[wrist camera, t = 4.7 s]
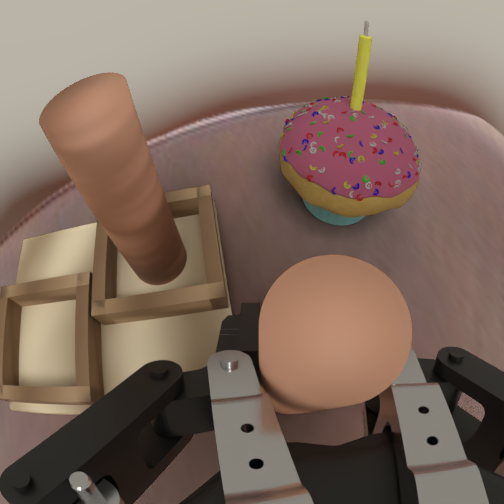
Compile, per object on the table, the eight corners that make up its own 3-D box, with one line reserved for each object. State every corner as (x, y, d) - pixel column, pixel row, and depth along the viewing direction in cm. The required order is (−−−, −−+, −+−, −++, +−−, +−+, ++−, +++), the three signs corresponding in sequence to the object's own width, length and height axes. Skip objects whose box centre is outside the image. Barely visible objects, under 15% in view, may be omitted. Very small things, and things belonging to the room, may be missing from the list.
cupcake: (273, 154, 24) (277, 2, 13) (379, 157, 24) (421, 22, 13) (279, 254, 19) (295, 70, 9) (408, 252, 19) (500, 105, 9)
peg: (312, 349, 17) (384, 244, 7) (325, 406, 15) (429, 378, 5) (253, 361, 16) (245, 268, 7) (264, 420, 15) (275, 423, 5)
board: (216, 211, 21) (186, 34, 10) (247, 402, 15) (219, 364, 5) (31, 247, 20) (-64, 133, 10) (21, 411, 14) (-139, 359, 4)
